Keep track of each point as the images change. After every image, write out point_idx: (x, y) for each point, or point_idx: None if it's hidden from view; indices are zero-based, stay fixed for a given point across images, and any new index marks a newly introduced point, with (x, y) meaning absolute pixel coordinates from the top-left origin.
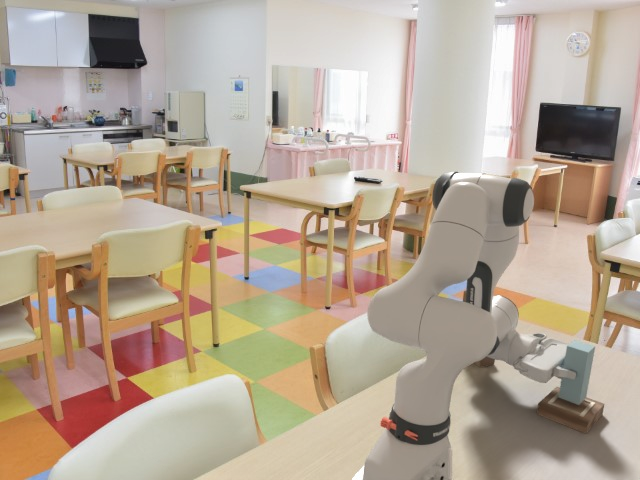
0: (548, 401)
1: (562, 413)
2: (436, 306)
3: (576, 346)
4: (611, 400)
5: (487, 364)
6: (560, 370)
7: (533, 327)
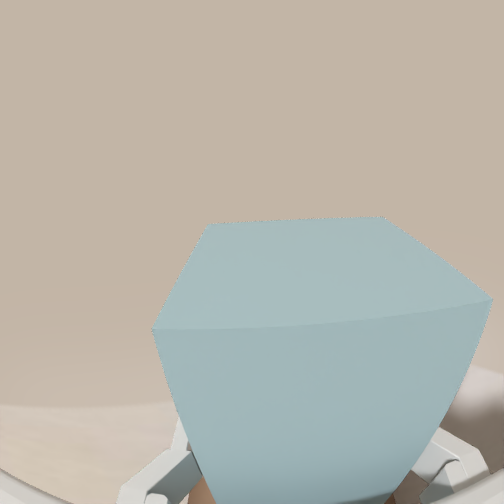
0: None
1: (393, 499)
2: None
3: (383, 261)
4: (96, 451)
5: None
6: (468, 451)
7: None
